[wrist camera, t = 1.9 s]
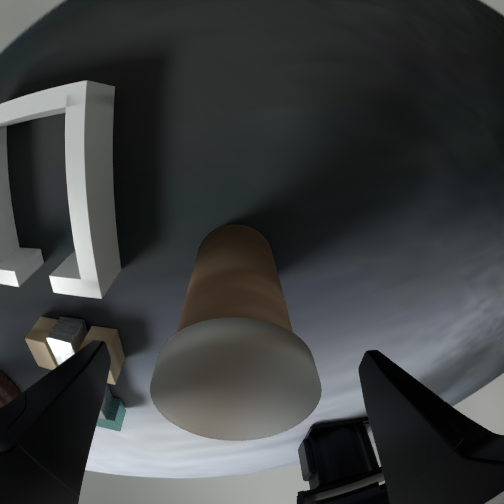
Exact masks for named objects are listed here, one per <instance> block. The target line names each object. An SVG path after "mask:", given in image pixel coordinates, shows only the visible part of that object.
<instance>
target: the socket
mask: <svg viewBox="0 0 504 504" xmlns="http://www.w3.org/2000/svg"><path fill="white" fill-rule="evenodd" d="M114 95H115V87H114V86H110V85H106V84H101V83H97V82H92V81H88V80H86V81H81V82H76V83H71V84H67V85H62V86H58V87H54V88H50V89H46V90H43V91H39V92H36V93H32V94H29V95H26V96H22V97H19V98H16V99H13V100H10V101H8V102H5V103H2V104H0V284H5V285H11V286H16V287H20V286H21V285H22V284H23V283H24V282H25V281H26V280H27V279H28V278H29V277H30V276H31V275H32V274H33V273H34V272H35V271H36V270H37V269H38V268H39V267H40V266H41V265H43V264H44V261H43V257H42V252H41V249H34V248H20V247H19V242H18V237H17V232H16V227H15V222H14V216H13V209H12V202H11V195H10V186H9V175H8V161H7V126H10V125H13V124H17V123H21V122H25V121H29V120H33V119H37V118H41V117H46V116H51V115H56V114H61V113H66V118H65V156H66V177H67V191H68V201H69V211H70V219H71V226H72V233H73V240H74V246H75V251H74V252H73V253H72V254H71V255H70V256H69V257H68V258H67V259H66V260H65V261H64V262H63V263H62V264H61V265H60V266H59V267H58V268H57V269H56V270H55V271H54V272H53V273H52V274H51V275H50V276H49V277H50V281H51V285H52V288H53V292H54V293H61V294H68V295H75V296H83V297H91V298H99V299H102V298H103V296H104V295H105V293H106V292H107V290H108V289H109V287H110V286H111V284H112V283H113V281H114V280H115V278H116V277H117V275H118V274H119V272H120V271H121V264H120V256H119V248H118V239H117V229H116V218H115V204H114V186H113V113H114Z"/></svg>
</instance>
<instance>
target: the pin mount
mask: <svg viewBox="0 0 504 504" xmlns="http://www.w3.org/2000/svg"><path fill="white" fill-rule="evenodd" d="M57 321H58V320H56V319H51V318H46V317H40V318H39V319H38V321H37V322H36V323H35V325H34V326H33V327H32V329H31V330H30V331H29V333H28V334H27V335H26V337H25V340H26V342H27V344H28V346H29V348H30V350H31V352H32V354H33V356H34V358H35V360H36V362H37V364H38V366H40V367H44V368H47V369H50V370H53V369H55V368H56V367H57V366H59V365H58V363H57V360H56V358H55V356H54V354H53V352H52V350H51V347H50V345H49V343H48V340H47V338H46V337H47V336H48V334H49V333H50V331H51V330H52V329H53V327H54V326H55V324H56V323H57ZM93 340H101V341H105V342H106V344H107V347H108V351H109V354H110V357H111V366H110V370H109V375H108V380H107V383H109V384H114V385H116V382H117V379H118V377H119V374H120V371H121V368H122V366H123V363H124V360H125V356H124V352H123V349H122V345H121V341H120V338H119V334H118V330H117V329H111V328H104V327H97V326H92V327H91V328H90V330H89V332H88V334H87V335H86V337H85V339H84V341H83V342H82V344H81V346H80V348H79V350H80V349H82V348H83V347H84V346H86V345H87V344H89V343H90V342H91V341H93ZM79 350H78V351H79Z"/></svg>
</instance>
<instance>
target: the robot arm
mask: <svg viewBox="0 0 504 504" xmlns="http://www.w3.org/2000/svg"><path fill="white" fill-rule="evenodd" d="M110 366H111V357H110V354H109V351H108V347H107V344H106V342H105V341H101V340H93V341H91V342H90V343H89V344H87V345H86V346H84V347H83V348H82V349H80V350H79V351H78V352H76V353H75V354H74V355H72V356H71V357H69V358H68V359H67V360H65V361H64V362H63V363H61V364H60V365H59V366H57V367H56V368H55V369H53V370H52V371H51V372H49V373H48V374H47V375H45V376H44V377H42V378H41V379H40V380H38V381H37V382H36V383H35V384H33V385H32V386H31V387H29V388H28V389H27V390H26V391H24V392H22V393H21V394H20V395H19V396H17V397H16V398H14V399H13V400H12V401H10V402H9V403H7V404H6V405H4V406H3V407H1V408H0V504H78V501H79V495H80V490H81V485H82V481H83V476H84V472H85V467H86V463H87V459H88V455H89V451H90V447H91V443H92V439H93V435H94V432H95V428H96V424H97V421H98V417H99V414H100V411H101V407H102V404H103V400H104V396H105V390H106V385H107V380H108V375H109V370H110ZM359 377H360V382H361V387H362V393H363V398H364V404H365V408H366V412H367V415H368V417H367V418H361V419H355V420H349V421H342V422H334V423H326V424H317V425H313V426H311V427H310V429H309V431H308V433H307V435H306V437H305V439H304V440H303V441H302V443H301V445H300V447H299V449H298V452H299V458H300V464H301V470H302V476H303V480H304V481H309V484H310V490H307V491H300V492H298V496H297V504H504V435H499V434H495V433H492V432H491V431H489V430H487V429H486V428H484V427H482V426H481V425H479V424H477V423H476V422H474V421H473V420H471V419H469V418H468V417H466V416H465V415H463V414H461V413H460V412H459V411H457V410H456V409H454V408H453V407H452V406H450V405H449V404H448V403H447V402H444V400H442V399H441V398H440V397H439V396H437V395H436V394H435V393H433V392H432V391H431V390H429V389H428V388H427V387H425V386H424V385H423V384H421V383H420V382H419V381H417V380H416V379H415V378H414V377H412V376H411V375H410V374H408V373H407V372H406V371H404V370H403V369H402V368H400V367H399V366H398V365H396V364H395V363H394V362H392V361H391V360H390V359H389V358H387V357H386V356H385V355H383V354H382V353H381V352H379V351H378V350H368V351H366V352H365V354H364V356H363V359H362V361H361V363H360V365H359ZM369 425H370V426H371V429H372V433H373V436H374V440H375V443H376V447H377V451H378V454H379V459H380V463H381V467H379V465H378V462H377V459H376V456H375V453H374V450H373V447H372V444H371V441H370V438H369V435H368V432H367V430H366V429H367V428H368V426H369ZM384 480H385V483H384V484H382V485H379V482H382V481H384Z"/></svg>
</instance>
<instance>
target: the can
mask: <svg viewBox="0 0 504 504" xmlns="http://www.w3.org/2000/svg"><path fill="white" fill-rule="evenodd" d="M20 394H21V392H20V390H19V388H18V387H17V386H16V385H15V383H14V382H13V381H12V380H11V379H10V378H9V377H7V376H6V375H5V374H4V373H3V372H1V371H0V408H1V407H3V406H4V405H6V404H7V403H9V402H10V401H12V400H13V399H14V398H16V397H17V396H19V395H20Z"/></svg>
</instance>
